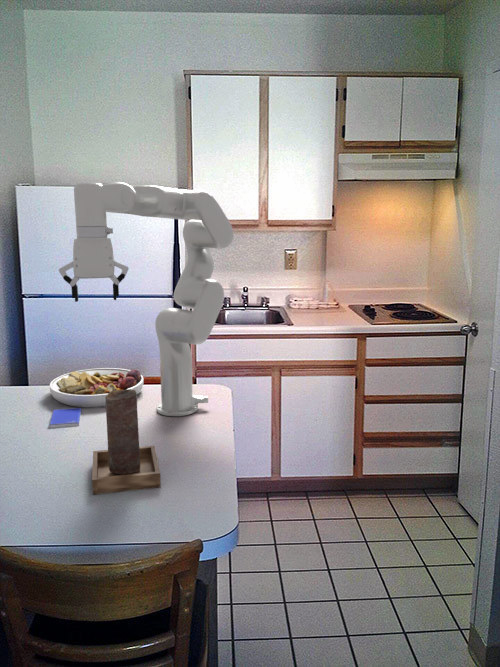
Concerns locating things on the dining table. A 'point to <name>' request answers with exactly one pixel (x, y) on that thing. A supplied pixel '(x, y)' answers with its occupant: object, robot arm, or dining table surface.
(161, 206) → the robot arm
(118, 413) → the candle
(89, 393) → the bowl
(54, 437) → the dining table surface
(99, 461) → the wooden tray
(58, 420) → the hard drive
